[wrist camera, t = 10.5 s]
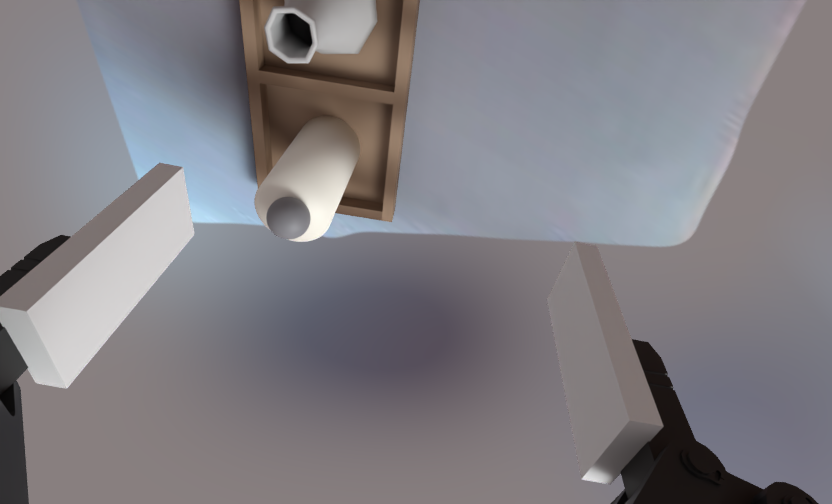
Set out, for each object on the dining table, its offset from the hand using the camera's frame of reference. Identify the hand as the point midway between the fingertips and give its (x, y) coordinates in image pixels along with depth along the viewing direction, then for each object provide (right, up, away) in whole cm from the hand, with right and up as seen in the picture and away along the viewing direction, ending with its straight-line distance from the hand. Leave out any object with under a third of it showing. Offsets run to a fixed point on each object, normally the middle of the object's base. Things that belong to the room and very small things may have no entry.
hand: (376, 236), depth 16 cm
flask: (-5, +18, +19) cm, 27 cm away
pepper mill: (-7, +9, +26) cm, 28 cm away
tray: (-6, +14, +23) cm, 28 cm away
